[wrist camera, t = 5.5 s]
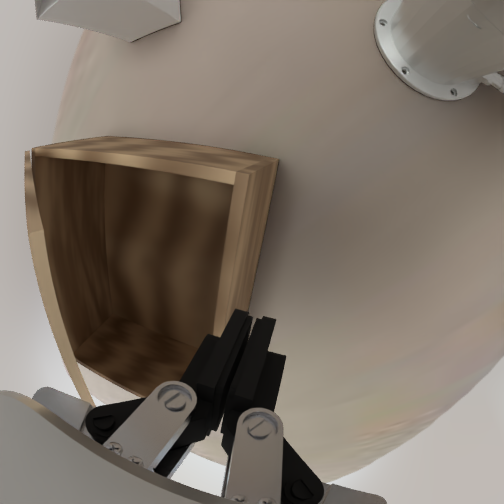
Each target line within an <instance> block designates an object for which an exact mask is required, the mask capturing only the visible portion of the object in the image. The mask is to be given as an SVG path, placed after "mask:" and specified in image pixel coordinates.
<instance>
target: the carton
mask: <svg viewBox="0 0 504 504" xmlns="http://www.w3.org/2000/svg"><path fill="white" fill-rule="evenodd" d="M278 163H279V159H276V158H271V157H266V156H261V155H256V154H251V153H246V152H240V151H234V150H229V149H223V148H216V147H210V146H203V145H196V144H189V143H181V142H172V141H163V140H153V139H142V138H129V137H113V136H104V137H95V138H88V139H80V140H73V141H67V142H61V143H55V144H50V145H45V146H40V147H35V148H32V175H33V182H34V188H35V193H36V198H37V203H38V208H39V213H40V217H41V222H42V226H43V230H44V237H45V244H46V250H47V256H48V262H49V267H50V272H51V277H52V282H53V286H54V290H55V295H56V299H57V302H58V306H59V310H60V314H61V317H62V320H63V324H64V327H65V330H66V333H67V336H68V339H69V342H70V345H71V348H72V351H73V354H74V356H75V359H76V362H78V363H80V364H81V365H83V366H84V367H86V368H88V369H89V370H91V371H93V372H94V373H96V374H98V375H99V376H101V377H103V378H105V379H106V380H108V381H110V382H112V383H114V384H115V385H117V386H119V387H121V388H123V389H125V390H127V391H129V392H131V393H133V394H135V395H137V396H139V397H141V398H145V397H148V396H149V395H150V394H151V393H152V392H153V391H154V390H155V389H156V387H158V386H159V385H160V384H162V383H165V382H168V381H180V379H181V377H182V376H183V374H184V372H185V371H186V369H187V367H188V365H189V364H190V362H191V360H192V359H193V357H194V355H195V353H196V352H197V350H198V348H199V347H200V345H201V343H202V341H203V340H204V338H205V337H206V335H207V334H211V335H214V336H217V337H221V335H222V333H223V331H224V329H225V327H226V325H227V323H228V321H229V319H230V317H231V315H232V314H233V312H234V310H235V309H240V310H243V311H247V312H248V309H249V304H250V299H251V295H252V290H253V285H254V280H255V276H256V271H257V266H258V261H259V256H260V252H261V247H262V242H263V237H264V232H265V227H266V222H267V218H268V213H269V208H270V203H271V198H272V193H273V188H274V183H275V178H276V173H277V168H278Z"/></svg>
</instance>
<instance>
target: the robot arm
mask: <svg viewBox="0 0 504 504" xmlns="http://www.w3.org/2000/svg"><path fill="white" fill-rule="evenodd" d="M381 24H382V25H384V26H382V25H381ZM374 35H375V39H376V43H377V46H378V48H379V50H380V52H381V54H382V56H383V58H384V59H385V61H386V62H387V64H388V66H389V67H390V68H391V69H392V70H393V71H394V73H395V74H396V75H397V76H398V77H399V78H400V79H402V80H403V81H404V82H405V83H406V84H407V85H409V86H410V87H412V88H413V89H414V90H416V91H418V92H420V93H422V94H424V95H425V96H428V97H431V98H434V99H438V100H444V101H452V100H458V99H463V98H465V97H467V96H469V95H471V94H472V93H473V92H474V91H475V90H476V89H477V87H478V86H479V84H480V83H481V82H482V83H483V84H485V85H488V86H489V85H490V84H491V85H492V86H494V87H495V88H496V89H497V90H499V91H500V92H502V93H503V94H504V76H503V75H500V74H498V73H497V72H499V71H503V70H504V0H387V1H385V2H384V3H383V4H382V5H381V7H380V8H379V10H378V12H377V14H376V17H375V22H374ZM402 70H403V71H405V74H404V73H403V72H402ZM451 92H452V94H451ZM248 315H249V312H247V311H243V310H240V309H235V310H234V312H233V314H232V315H231V317H230V319H229V321H228V323H227V325H226V327H225V329H224V331H223V333H222V335H221V337H217V336H214V335H211V334H207V335H206V337H205V338H204V340H203V341H202V343H201V345H200V347H199V348H198V350H197V352H196V353H195V355H194V357H193V359H192V360H191V362H190V364H189V365H188V367H187V369H186V371H185V372H184V374H183V376H182V377H181V379H180V381H168V382H165V383H162V384H160V385H159V386H158V387H156V389H155V390H154V391H153V392H152V393H151V394H150V395H149V396H148V397H145V398H140V399H135V400H130V401H125V402H120V403H114V404H109V405H103V406H98V407H95V406H92V405H91V403H89V402H86V401H84V400H81V399H78V398H76V397H73V396H70V395H68V394H65V393H63V392H60V391H58V390H56V389H53V388H50V387H43V388H41V389H39V390H37V392H36V393H35V394H34V396H33V398H32V399H31V398H29V397H27V396H25V395H22V394H20V393H16V392H13V391H5V390H3V391H0V504H387V502H386V500H385V499H384V498H383V497H381V496H378V495H374V494H370V493H365V492H361V491H357V490H353V489H349V488H346V487H342V486H339V485H335V484H331V485H329V484H326V483H323V482H321V481H320V479H319V478H318V477H317V476H316V475H315V474H314V472H313V471H312V470H311V469H310V468H309V467H308V466H307V464H306V463H305V462H304V461H303V460H302V459H301V457H300V456H299V455H298V454H297V453H296V452H295V450H294V449H293V448H292V447H291V446H290V444H289V443H288V442H287V441H286V439H285V438H284V437H283V423H282V421H281V419H280V417H279V416H278V415H277V414H276V413H274V409H275V405H276V401H277V396H278V392H279V388H280V383H281V379H282V374H283V370H284V365H285V360H286V356H285V355H281V354H277V353H273V352H269V351H268V347H269V344H270V340H271V337H272V333H273V330H274V326H275V323H276V319H273V318H269V317H265V316H263V318H262V319H259V318H257V319H256V322H255V324H254V327H253V330H252V332H251V335H250V337H249V334H250V329H251V325H252V320H253V317H251V316H248ZM248 338H249V340H248ZM223 414H224V416H223ZM222 417H223V422H222V427H221V433H223V439H222V443H221V445H222V447H223V449H224V450H225V452H226V453H227V455H228V457H227V463H226V469H225V476H224V481H223V488H222V493H221V497H219V496H216V495H212V494H209V493H206V492H203V491H200V490H197V489H194V488H191V487H189V486H186V485H183V484H181V483H178V482H176V481H173V480H171V479H170V478H171V477H172V475H173V474H174V473H175V471H176V470H177V468H178V467H179V466H180V465H181V463H182V462H183V460H184V459H185V457H186V456H187V455H188V453H189V452H190V450H191V449H192V448H193V446H194V444H195V442H198V441H201V440H204V439H205V437H206V435H207V436H209V435H210V432H211V430H214V431H217V429H218V427H219V424H220V422H221V419H222Z"/></svg>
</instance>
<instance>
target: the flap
mask: <svg viewBox="0 0 504 504" xmlns="http://www.w3.org/2000/svg"><path fill="white" fill-rule="evenodd" d="M25 203H26V204H25V205H26V219H27V229H28V237H29V243H30V248H31V254H32V259H33V263H34V269H35V273H36V277H37V281H38V286H39V289H40V293H41V297H42V300H43V304H44V307H45V311H46V314H47V317H48V320H49V323H50V326H51V329H52V332H53V335H54V338H55V340H56V343H57V345H58V348H59V351H60V353H61V356H62V358H63V361H64V363H65V365H66V368H67V370H68V372H69V374H70V377H71V379H72V381H73V383H74V385H75V387H76V389H77V391H78V393H79V395H80V397H81V399H82V400H84V401H86V402H89V403H91V405H92V406H95V404H94V402H93V399H92V397H91V395H90V393H89V391H88V388H87V386H86V384H85V382H84V379H83V377H82V374H81V372H80V369H79V367H78V364H77V362H76V359H75V356H74V354H73V351H72V348H71V345H70V342H69V339H68V336H67V333H66V330H65V327H64V324H63V320H62V317H61V314H60V310H59V306H58V302H57V299H56V295H55V290H54V286H53V282H52V277H51V272H50V267H49V262H48V256H47V250H46V244H45V237H44V230H43V226H42V222H41V217H40V213H39V208H38V203H37V198H36V193H35V188H34V182H33V175H32V168H31V161H30V151H25ZM95 407H96V406H95Z"/></svg>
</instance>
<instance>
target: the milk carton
mask: <svg viewBox="0 0 504 504" xmlns="http://www.w3.org/2000/svg"><path fill="white" fill-rule="evenodd" d="M35 6H36V17H37V20H44V21H51V22H56V23H61V24H67V25H71V26H75V27H80V28H84V29H88V30H92V31H95V32H99V33H103V34H106V35H110V36H113V37H116V38H119V39H122V40H125V41H128V42H132V41H134V40H136V39H139V38H141V37H143V36H145V35H148V34H150V33H153V32H155V31H157V30H160V29H163V28H165V27H168V26H170V25H173V24H176V23H179V22H181V15H180V0H35Z"/></svg>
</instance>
